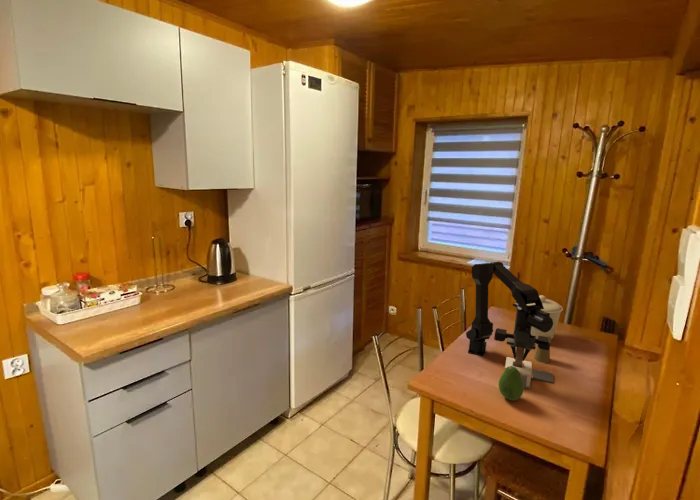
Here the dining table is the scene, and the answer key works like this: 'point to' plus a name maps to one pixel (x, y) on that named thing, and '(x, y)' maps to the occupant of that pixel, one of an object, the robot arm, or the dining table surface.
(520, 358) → the cylinder
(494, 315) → the dining table surface
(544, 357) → the cork
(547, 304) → the canister
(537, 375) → the pad
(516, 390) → the fruit
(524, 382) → the guard
